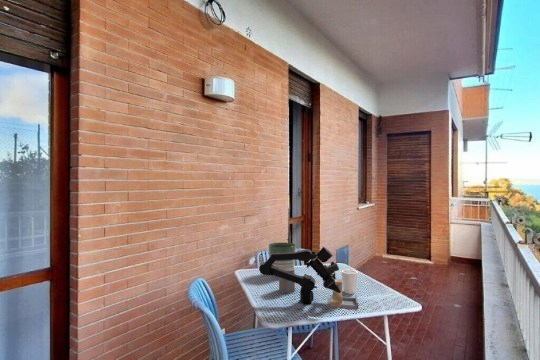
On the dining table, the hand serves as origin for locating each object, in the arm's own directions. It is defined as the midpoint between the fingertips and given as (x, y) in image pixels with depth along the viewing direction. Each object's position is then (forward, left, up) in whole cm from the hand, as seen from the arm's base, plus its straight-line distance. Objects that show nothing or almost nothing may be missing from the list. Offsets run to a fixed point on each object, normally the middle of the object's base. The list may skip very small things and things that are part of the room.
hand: (340, 289), depth 173 cm
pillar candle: (-16, +33, -8) cm, 37 cm away
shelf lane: (+1, -1, -8) cm, 8 cm away
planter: (-3, +66, -8) cm, 66 cm away
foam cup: (+16, +13, -8) cm, 22 cm away
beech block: (-1, +1, -7) cm, 7 cm away
